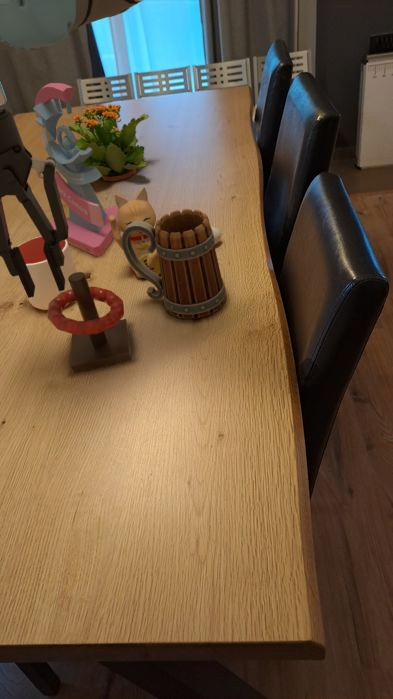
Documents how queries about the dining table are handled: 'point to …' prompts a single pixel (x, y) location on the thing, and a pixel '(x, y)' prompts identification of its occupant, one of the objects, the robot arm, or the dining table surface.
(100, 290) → the ring
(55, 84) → the trophy
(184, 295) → the mug
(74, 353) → the stand
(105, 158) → the potted flower
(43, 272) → the cup
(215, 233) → the egg
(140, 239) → the figurine
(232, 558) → the dining table surface
